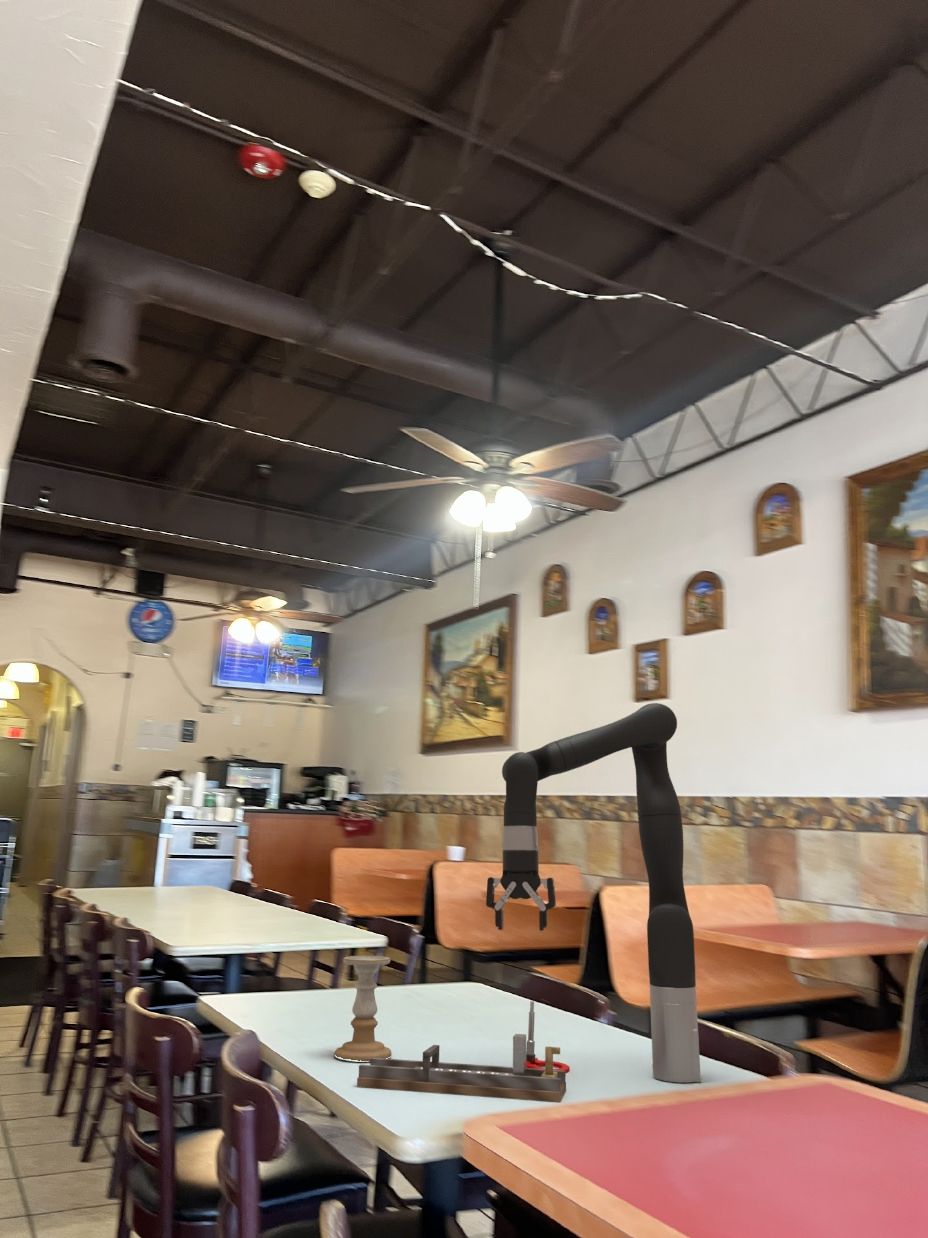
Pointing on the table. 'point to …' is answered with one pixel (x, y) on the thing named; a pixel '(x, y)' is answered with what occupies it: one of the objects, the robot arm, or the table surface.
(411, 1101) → the table surface
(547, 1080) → the track
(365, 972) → the candle holder
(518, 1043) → the grey l-shaped slider bar
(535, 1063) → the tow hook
